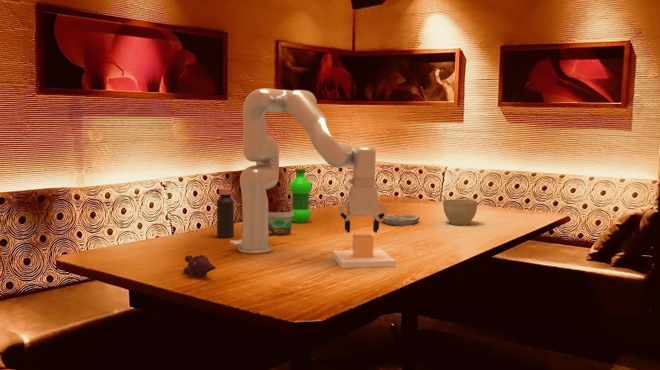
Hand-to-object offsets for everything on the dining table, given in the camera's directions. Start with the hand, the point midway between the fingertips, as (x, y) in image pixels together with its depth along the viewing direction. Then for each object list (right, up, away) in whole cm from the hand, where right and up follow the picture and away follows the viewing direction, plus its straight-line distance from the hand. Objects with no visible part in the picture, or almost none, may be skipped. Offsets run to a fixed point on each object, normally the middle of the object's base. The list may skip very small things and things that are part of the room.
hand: (361, 232), depth 221 cm
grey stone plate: (+22, -2, +82) cm, 85 cm away
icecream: (-52, -12, -22) cm, 57 cm away
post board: (0, -10, +1) cm, 10 cm away
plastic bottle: (-25, -1, +81) cm, 85 cm away
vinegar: (-54, -5, +42) cm, 69 cm away
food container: (-32, -5, +48) cm, 58 cm away
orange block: (0, -8, +1) cm, 8 cm away
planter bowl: (+50, -2, +81) cm, 95 cm away
